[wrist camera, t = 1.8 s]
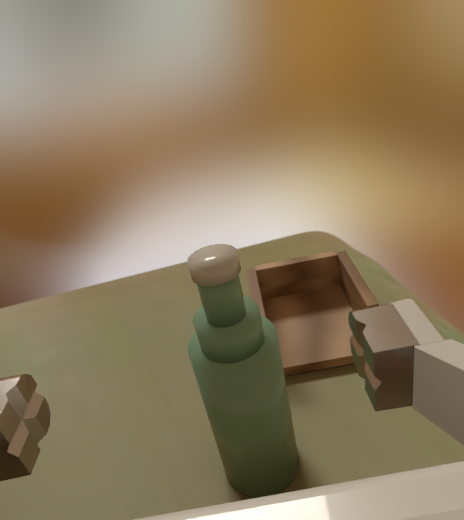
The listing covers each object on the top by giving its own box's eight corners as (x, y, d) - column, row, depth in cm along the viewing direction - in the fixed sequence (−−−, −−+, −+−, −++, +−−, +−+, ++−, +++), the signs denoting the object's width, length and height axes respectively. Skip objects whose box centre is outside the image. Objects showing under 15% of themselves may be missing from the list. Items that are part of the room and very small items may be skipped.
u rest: (261, 380, 39) (252, 338, 36) (248, 304, 49) (241, 268, 47) (391, 356, 38) (391, 313, 36) (350, 285, 49) (348, 247, 46)
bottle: (226, 503, 30) (157, 295, 21) (223, 435, 34) (166, 243, 26) (305, 490, 29) (270, 273, 20) (290, 423, 34) (256, 225, 25)
